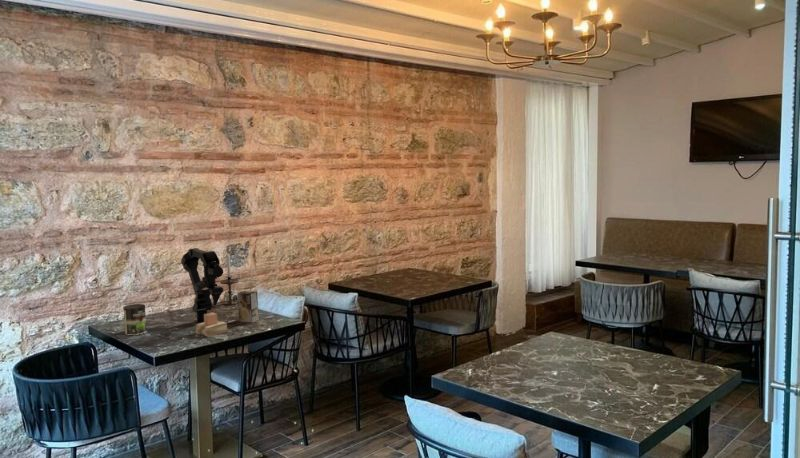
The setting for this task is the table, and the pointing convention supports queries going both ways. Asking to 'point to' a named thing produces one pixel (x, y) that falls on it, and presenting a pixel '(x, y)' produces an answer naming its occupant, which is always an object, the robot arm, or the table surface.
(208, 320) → the cube
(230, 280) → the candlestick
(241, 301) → the coffee box
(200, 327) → the base block
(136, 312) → the coffee can
